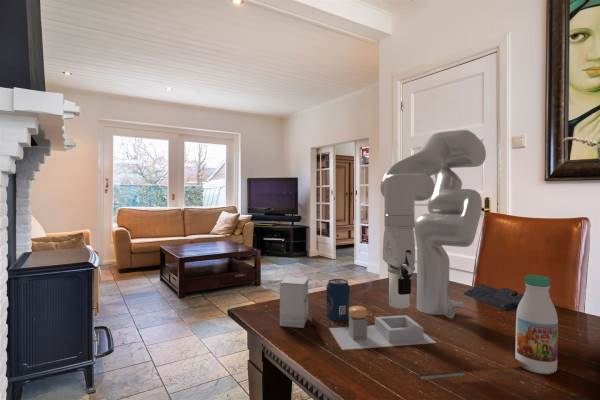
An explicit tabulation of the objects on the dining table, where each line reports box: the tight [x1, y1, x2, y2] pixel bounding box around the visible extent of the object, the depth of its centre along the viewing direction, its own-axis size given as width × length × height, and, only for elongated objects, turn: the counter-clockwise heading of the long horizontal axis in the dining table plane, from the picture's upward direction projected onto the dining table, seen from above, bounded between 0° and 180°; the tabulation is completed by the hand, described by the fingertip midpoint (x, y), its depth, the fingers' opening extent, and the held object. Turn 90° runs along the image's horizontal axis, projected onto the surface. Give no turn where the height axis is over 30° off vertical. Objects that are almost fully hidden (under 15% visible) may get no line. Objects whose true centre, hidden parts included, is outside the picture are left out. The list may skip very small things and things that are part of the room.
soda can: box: [325, 278, 351, 322], centre depth 104 cm, size 7×7×12 cm
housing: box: [328, 314, 437, 351], centre depth 91 cm, size 24×13×6 cm, turn 99°
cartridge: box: [388, 264, 411, 309], centre depth 91 cm, size 5×5×10 cm
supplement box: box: [279, 276, 309, 329], centre depth 103 cm, size 7×7×13 cm
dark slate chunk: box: [463, 284, 524, 313], centre depth 124 cm, size 15×22×5 cm
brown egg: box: [349, 305, 368, 319], centre depth 90 cm, size 4×4×6 cm
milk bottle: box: [514, 274, 559, 375], centre depth 77 cm, size 8×8×20 cm
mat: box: [416, 371, 465, 380], centre depth 78 cm, size 10×10×1 cm
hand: (399, 289), depth 92 cm, fingers closed on cartridge, 5 cm apart
